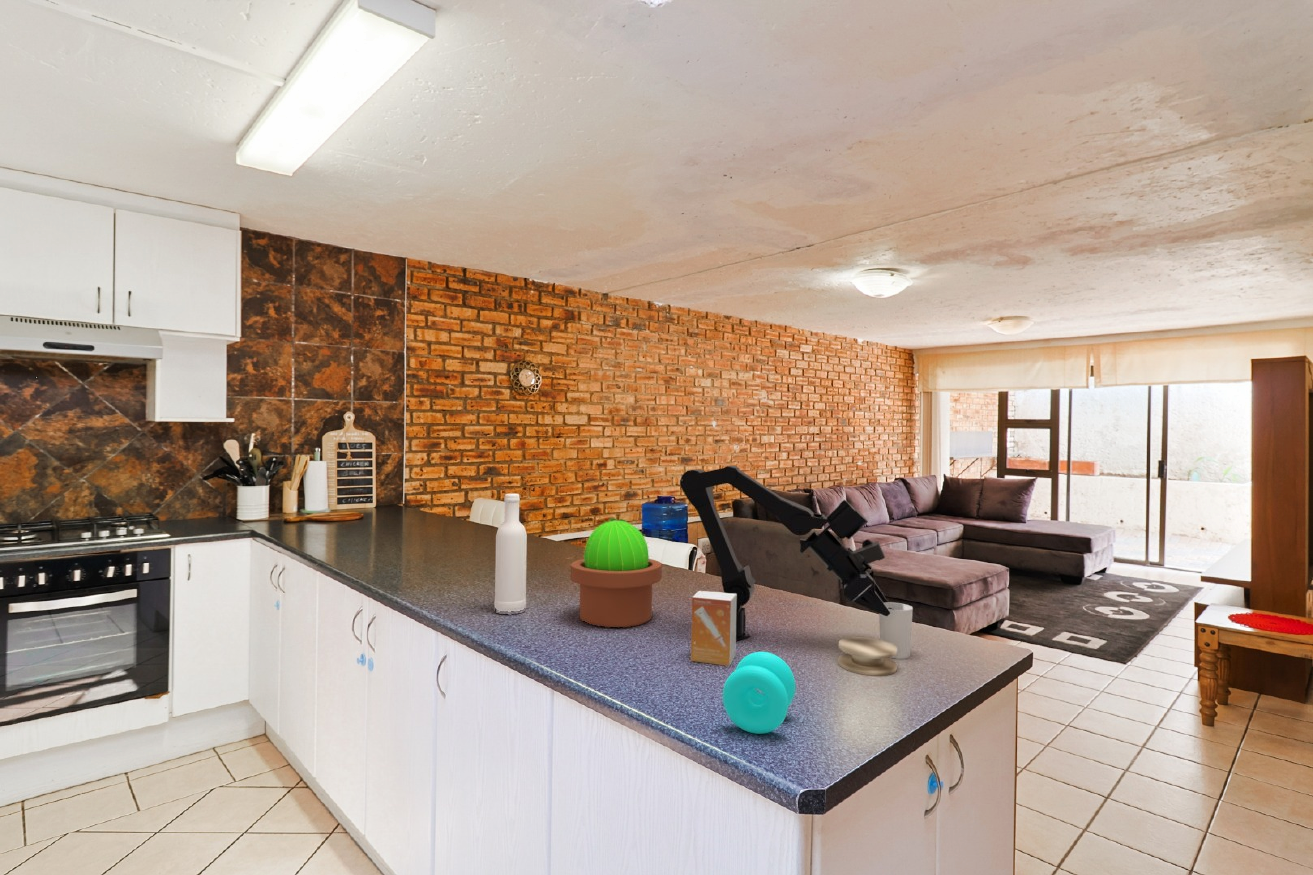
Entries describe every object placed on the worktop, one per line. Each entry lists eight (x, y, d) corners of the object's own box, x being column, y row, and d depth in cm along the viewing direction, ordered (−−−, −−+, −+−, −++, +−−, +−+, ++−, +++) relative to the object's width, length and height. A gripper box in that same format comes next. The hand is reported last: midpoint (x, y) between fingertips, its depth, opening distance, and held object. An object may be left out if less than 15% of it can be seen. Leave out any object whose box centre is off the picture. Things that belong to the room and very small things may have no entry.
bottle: (501, 606, 168) (503, 492, 169) (530, 608, 167) (532, 493, 168) (489, 614, 160) (491, 494, 161) (519, 616, 159) (521, 495, 160)
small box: (690, 661, 128) (691, 596, 128) (697, 652, 134) (698, 589, 134) (730, 666, 125) (731, 600, 126) (736, 656, 131) (737, 592, 132)
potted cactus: (627, 637, 144) (629, 525, 144) (552, 621, 155) (554, 518, 155) (676, 615, 162) (677, 516, 162) (606, 602, 174) (607, 510, 174)
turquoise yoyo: (720, 730, 97) (720, 664, 98) (735, 705, 107) (736, 645, 107) (786, 742, 94) (786, 674, 94) (796, 715, 103) (797, 653, 103)
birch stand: (878, 679, 119) (878, 658, 119) (827, 664, 128) (827, 643, 128) (907, 666, 127) (907, 646, 127) (857, 652, 135) (857, 633, 135)
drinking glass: (878, 656, 132) (878, 608, 133) (878, 647, 139) (879, 601, 139) (912, 661, 130) (913, 611, 130) (911, 651, 136) (912, 604, 136)
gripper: (861, 534, 128) (920, 594, 124) (861, 523, 146) (913, 575, 142) (820, 571, 130) (877, 630, 127) (825, 556, 148) (875, 608, 144)
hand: (887, 609), depth 135 cm, fingers open, 9 cm apart
